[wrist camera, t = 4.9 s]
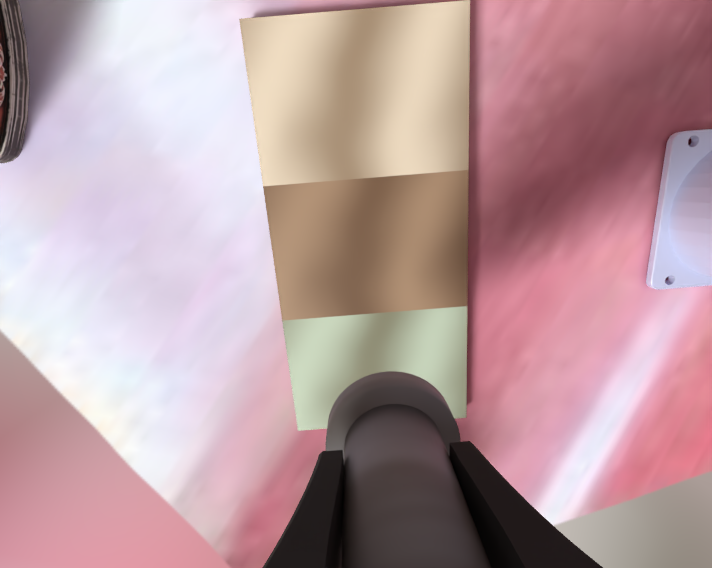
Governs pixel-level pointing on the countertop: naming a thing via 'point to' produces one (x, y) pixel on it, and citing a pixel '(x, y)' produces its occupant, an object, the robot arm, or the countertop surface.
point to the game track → (366, 193)
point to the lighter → (12, 81)
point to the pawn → (401, 477)
